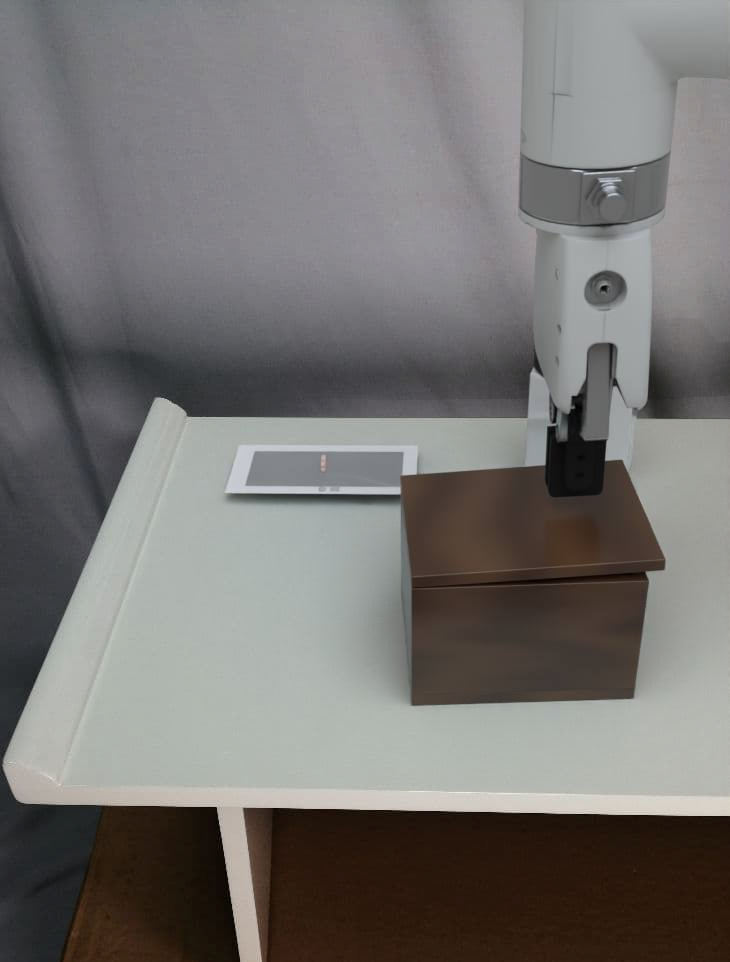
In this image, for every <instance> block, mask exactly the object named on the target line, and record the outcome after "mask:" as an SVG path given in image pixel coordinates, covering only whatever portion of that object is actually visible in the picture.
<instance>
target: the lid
mask: <svg viewBox="0 0 730 962" xmlns="http://www.w3.org/2000/svg"><path fill="white" fill-rule="evenodd" d="M400 482H401V493H402V502H403V512H404V521H405V531H406V540H407V549H408V559H409V568H410V578H411V586H412V587H413V588H414V587H429V586H443V585H458V584H473V583H487V582H502V581H517V580H531V579H546V578H561V577H575V576H590V575H605V574H619V573H634V572H646V573H647V572H658V571H659V572H661V571H662V572H663V571H665V570H666V561H667V560H666V557H665V555H664V552H663V550H662V548H661V546H660V543H659V541H658V539H657V536H656V534H655V532H654V530H653V528H652V525H651V523H650V520H649V518H648V515H647V513H646V511H645V508H644V506H643V504H642V502H641V500H640V498H639V495H638V492H637V489H636V488H635V485H634V483H633V481H632V479H631V476H630V474H629V473H628V472H627V469H626V467H625V465H624V462H623V460H608V461H605V469H604V481H603V491H602V492H601V493H600V494H599V495H591V496H573V497H551V496H550V494H549V492H548V487H547V485H546V482H545V465H540V466H526V467H525V466H515V467H512V466H511V467H500V468H487V469H486V468H485V469H474V470H471V469H470V470H460V471H459V470H457V471H446V472H445V471H444V472H443V471H442V472H431V473H418V474H415V475H402V476H400Z"/></svg>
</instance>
